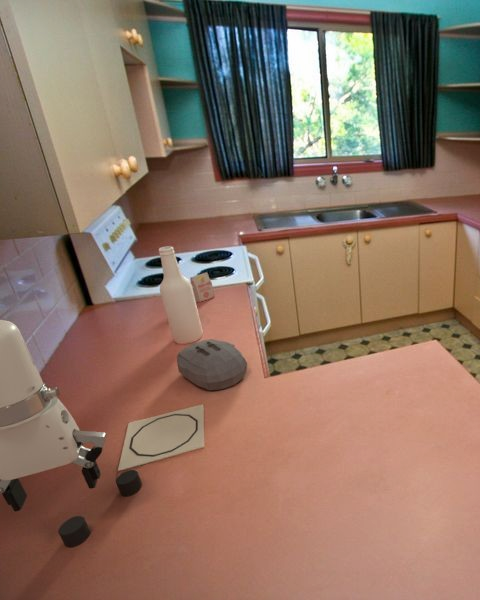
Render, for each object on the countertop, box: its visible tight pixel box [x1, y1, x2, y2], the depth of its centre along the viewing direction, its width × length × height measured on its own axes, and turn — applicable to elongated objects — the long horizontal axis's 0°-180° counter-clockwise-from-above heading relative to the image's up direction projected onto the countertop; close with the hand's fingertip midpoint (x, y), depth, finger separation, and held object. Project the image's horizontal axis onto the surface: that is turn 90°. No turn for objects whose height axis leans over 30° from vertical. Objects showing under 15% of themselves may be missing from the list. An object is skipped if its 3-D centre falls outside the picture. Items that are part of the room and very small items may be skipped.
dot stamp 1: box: [57, 515, 91, 548], centre depth 71 cm, size 4×4×3 cm
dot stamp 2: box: [115, 469, 143, 497], centre depth 80 cm, size 4×4×3 cm
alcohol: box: [158, 245, 204, 345], centre depth 130 cm, size 9×9×30 cm
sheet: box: [117, 403, 206, 473], centre depth 94 cm, size 16×16×1 cm
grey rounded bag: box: [176, 338, 248, 391], centre depth 115 cm, size 15×8×20 cm
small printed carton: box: [189, 272, 216, 304], centre depth 164 cm, size 4×7×10 cm, turn 144°
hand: (58, 492), depth 67 cm, fingers open, 9 cm apart
